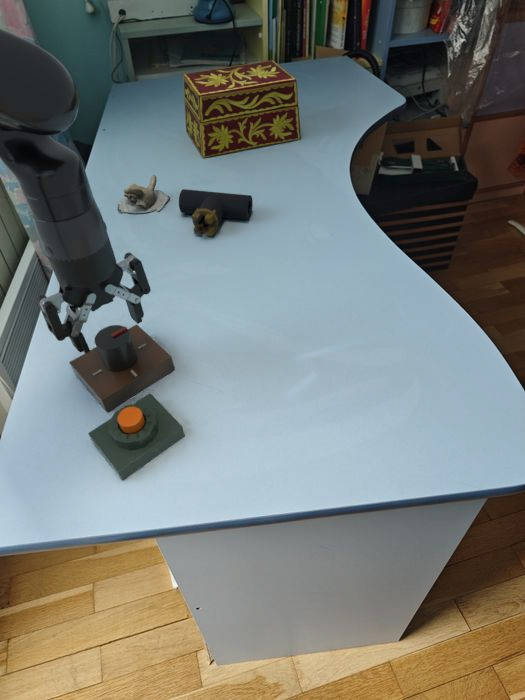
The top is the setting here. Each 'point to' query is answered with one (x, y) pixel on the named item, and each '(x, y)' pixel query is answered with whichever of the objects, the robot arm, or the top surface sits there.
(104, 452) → the button box
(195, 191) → the pipe connector
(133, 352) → the dial knob
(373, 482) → the top surface
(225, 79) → the decorative box
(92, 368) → the dial base block
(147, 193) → the tan irregular piece
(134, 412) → the button
